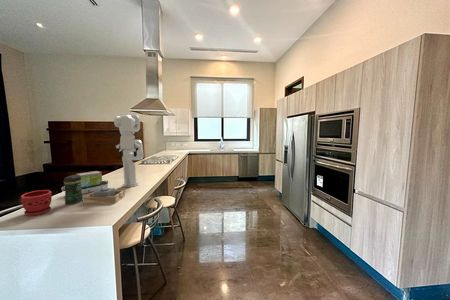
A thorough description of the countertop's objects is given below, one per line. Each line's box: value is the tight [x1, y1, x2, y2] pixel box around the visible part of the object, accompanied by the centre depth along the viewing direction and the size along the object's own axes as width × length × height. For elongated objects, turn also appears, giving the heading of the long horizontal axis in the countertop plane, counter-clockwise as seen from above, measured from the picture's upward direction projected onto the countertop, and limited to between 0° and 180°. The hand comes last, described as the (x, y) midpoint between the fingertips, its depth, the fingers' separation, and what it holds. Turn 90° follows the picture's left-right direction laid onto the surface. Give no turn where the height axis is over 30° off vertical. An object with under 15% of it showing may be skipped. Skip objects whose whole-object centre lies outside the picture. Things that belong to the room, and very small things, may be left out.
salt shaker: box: [100, 180, 109, 191], centre depth 139 cm, size 5×5×10 cm
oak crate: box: [82, 190, 125, 205], centre depth 140 cm, size 14×20×5 cm
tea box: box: [75, 170, 103, 195], centre depth 164 cm, size 15×10×15 cm
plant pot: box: [20, 189, 53, 217], centre depth 120 cm, size 13×13×12 cm
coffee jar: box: [63, 174, 83, 206], centre depth 136 cm, size 10×8×19 cm
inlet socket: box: [93, 187, 116, 197], centre depth 139 cm, size 9×9×7 cm
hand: (128, 156), depth 153 cm, fingers open, 9 cm apart
